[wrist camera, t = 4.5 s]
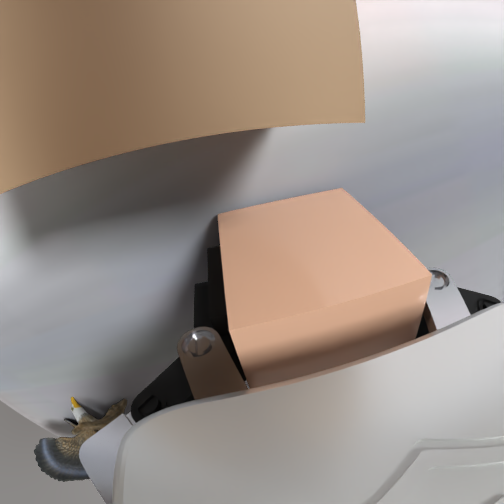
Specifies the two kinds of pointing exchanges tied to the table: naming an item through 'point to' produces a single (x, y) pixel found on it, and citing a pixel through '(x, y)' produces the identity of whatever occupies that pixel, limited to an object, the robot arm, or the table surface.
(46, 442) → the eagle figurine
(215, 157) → the table surface
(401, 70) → the table surface
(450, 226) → the table surface
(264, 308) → the peach block
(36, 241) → the table surface
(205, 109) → the walnut block
